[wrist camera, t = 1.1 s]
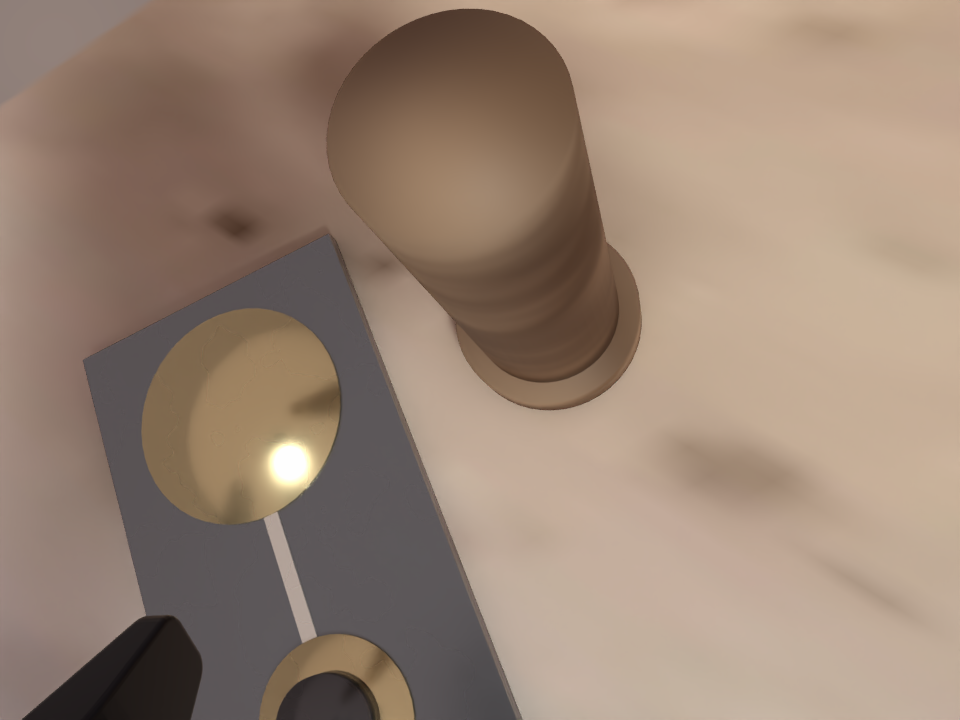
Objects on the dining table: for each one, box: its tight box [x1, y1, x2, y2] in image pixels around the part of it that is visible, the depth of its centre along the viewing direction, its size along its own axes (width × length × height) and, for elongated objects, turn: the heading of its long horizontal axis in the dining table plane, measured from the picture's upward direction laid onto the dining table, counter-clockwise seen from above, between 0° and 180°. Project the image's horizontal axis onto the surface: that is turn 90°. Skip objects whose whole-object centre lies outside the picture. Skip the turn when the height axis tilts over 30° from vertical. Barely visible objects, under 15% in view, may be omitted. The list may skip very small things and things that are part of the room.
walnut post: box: [327, 9, 642, 410], centre depth 19 cm, size 6×6×12 cm
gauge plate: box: [83, 234, 522, 720], centre depth 24 cm, size 17×10×2 cm, turn 23°
